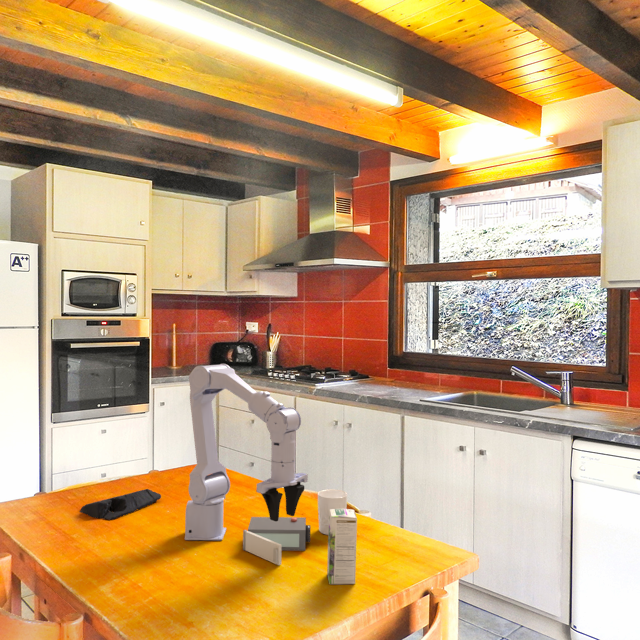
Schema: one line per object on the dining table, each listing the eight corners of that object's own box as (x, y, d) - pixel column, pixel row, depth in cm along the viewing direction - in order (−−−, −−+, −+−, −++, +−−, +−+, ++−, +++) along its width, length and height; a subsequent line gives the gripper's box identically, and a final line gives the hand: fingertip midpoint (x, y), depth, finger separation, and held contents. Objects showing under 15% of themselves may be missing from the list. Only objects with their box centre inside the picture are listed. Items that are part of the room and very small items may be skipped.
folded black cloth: (169, 503, 181) (169, 488, 181) (106, 523, 163) (107, 506, 163) (136, 494, 190) (136, 479, 190) (73, 512, 171) (73, 496, 171)
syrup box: (326, 573, 133) (327, 508, 132) (353, 573, 133) (354, 508, 133) (328, 585, 127) (330, 517, 127) (356, 584, 127) (357, 516, 127)
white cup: (344, 537, 154) (344, 499, 154) (314, 535, 156) (314, 496, 156) (348, 527, 162) (349, 490, 162) (320, 524, 164) (320, 488, 163)
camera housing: (247, 550, 145) (247, 527, 145) (251, 536, 154) (251, 514, 154) (310, 550, 145) (310, 527, 145) (310, 536, 154) (310, 515, 154)
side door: (240, 549, 145) (241, 530, 144) (245, 548, 146) (245, 529, 146) (276, 566, 136) (277, 545, 135) (281, 564, 137) (281, 544, 136)
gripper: (271, 468, 133) (270, 529, 133) (316, 458, 143) (316, 514, 143) (251, 462, 138) (250, 521, 138) (296, 453, 148) (295, 507, 148)
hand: (282, 517), depth 141 cm, fingers open, 5 cm apart
